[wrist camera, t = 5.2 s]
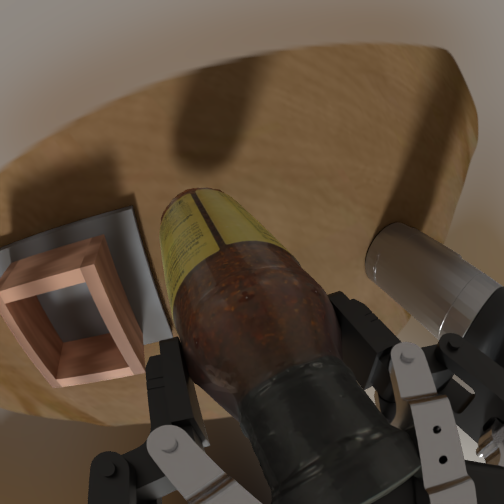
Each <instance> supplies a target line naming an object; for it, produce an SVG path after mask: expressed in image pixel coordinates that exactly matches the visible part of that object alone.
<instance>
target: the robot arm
mask: <svg viewBox="0 0 504 504" xmlns="http://www.w3.org/2000/svg"><path fill="white" fill-rule="evenodd" d="M365 269H366V274H367V276H368V277H369V278H370V279H371V280H372V281H373V282H374V283H375V284H376V285H378V286H379V287H380V288H381V289H382V290H383V291H385V292H386V293H387V294H388V295H389V296H390V297H391V298H393V299H394V300H395V301H396V302H397V303H398V304H399V305H401V306H402V307H403V308H404V309H405V310H406V311H407V312H409V313H410V314H411V315H412V316H413V317H414V318H415V319H416V320H418V321H419V322H420V323H421V324H422V325H423V326H424V327H425V328H426V329H427V330H429V331H430V332H431V333H432V334H433V335H434V336H435V337H436V338H437V339H438V340H439V342H438V344H436V345H432V346H427V347H422V348H420V347H419V346H417V345H416V344H414V343H410V342H401V341H400V340H399V339H398V338H397V337H396V336H395V335H394V334H393V333H392V332H391V331H390V330H389V329H388V328H387V327H386V326H385V325H384V324H383V322H382V321H381V320H380V319H379V320H378V317H377V316H376V315H375V314H374V313H373V314H372V311H371V310H370V309H369V308H368V307H367V306H366V305H365V304H363V303H361V302H359V301H357V300H355V299H352V300H349V299H348V297H347V296H346V295H345V294H344V293H343V292H341V291H338V292H335V293H332V294H329V295H327V296H328V297H329V300H330V302H331V304H332V306H333V308H334V310H335V313H336V315H337V318H338V321H339V324H340V327H341V334H342V355H343V362H344V363H345V364H346V366H348V367H349V368H350V369H351V370H352V371H353V373H354V375H355V377H356V380H357V382H358V383H359V384H360V386H361V387H362V388H363V390H365V389H367V388H369V387H371V386H373V387H374V388H375V390H376V391H375V394H374V397H375V404H376V407H377V408H378V410H379V411H380V412H381V413H382V414H383V415H384V417H385V418H386V420H387V421H388V422H389V423H390V424H391V425H392V426H395V427H397V428H399V429H402V430H403V431H405V432H407V433H408V434H409V436H410V438H411V440H412V441H413V443H414V446H415V448H416V451H417V453H418V456H419V458H420V461H421V467H420V469H419V470H418V471H417V472H416V473H415V474H414V475H413V476H412V477H410V478H409V479H408V480H406V481H405V482H404V483H402V484H401V485H400V486H398V487H397V488H396V489H394V490H393V491H391V492H390V493H388V494H387V495H385V496H383V497H381V498H380V499H378V500H376V501H374V502H373V503H371V504H504V287H503V286H502V285H500V284H499V283H497V282H496V281H495V280H493V279H492V278H490V277H489V276H487V275H486V274H485V273H483V272H481V271H480V270H478V269H477V268H476V267H474V266H473V265H471V264H469V263H468V262H466V261H465V260H463V259H462V257H461V256H460V255H459V254H457V253H456V252H454V251H453V250H451V249H449V248H448V247H446V246H445V245H443V244H441V243H440V242H438V241H436V240H434V239H433V238H431V237H429V236H428V235H426V234H424V233H422V232H421V231H419V230H417V229H415V228H414V227H412V228H411V227H409V226H407V225H405V224H403V223H393V224H391V225H389V226H387V227H385V228H384V229H383V230H382V231H381V232H380V233H379V234H378V235H377V236H376V238H375V239H374V241H373V242H372V244H371V246H370V248H369V250H368V253H367V257H366V261H365ZM159 345H160V354H161V355H156V356H151V357H150V358H149V360H148V363H147V365H146V368H145V370H146V380H147V382H146V383H147V390H148V392H147V394H148V404H149V413H150V421H151V432H150V435H149V437H148V439H147V440H146V442H145V443H144V444H142V445H141V446H140V447H138V448H136V449H134V450H132V451H129V452H127V453H125V454H123V455H120V454H118V453H116V452H111V451H108V452H103V453H100V454H99V455H97V456H96V457H95V458H94V460H93V461H92V463H91V468H90V478H89V492H88V504H162V496H165V495H167V494H169V493H171V492H173V491H175V490H178V491H179V492H180V493H181V494H182V495H183V497H184V498H185V499H186V500H187V501H188V503H189V504H262V503H260V502H259V501H258V500H257V499H256V498H254V497H253V496H252V495H251V494H250V493H248V492H247V491H246V490H245V489H244V488H243V487H242V486H241V485H239V484H238V483H237V482H236V481H235V480H234V479H232V478H231V477H230V476H228V475H227V474H226V473H225V472H224V471H222V470H221V469H220V468H219V467H218V466H217V465H216V464H215V463H214V462H213V461H212V460H211V459H210V458H209V457H208V456H207V455H206V454H205V451H204V447H206V446H210V444H209V441H208V437H207V434H206V430H205V426H204V422H203V419H202V415H201V411H200V407H199V403H198V399H197V395H196V391H195V387H194V383H193V381H192V379H191V378H190V376H189V374H188V370H187V366H186V363H185V359H184V355H183V351H182V347H181V343H180V340H179V338H178V337H173V338H169V339H165V340H160V341H159ZM454 374H455V375H456V376H458V377H459V378H460V379H461V380H463V381H464V382H465V383H466V384H468V385H469V386H470V387H471V388H472V389H473V390H474V392H475V394H471V393H469V392H468V391H467V390H466V389H465V388H463V387H462V386H461V385H460V384H458V383H457V382H456V381H455V380H454V379H452V377H453V375H454ZM456 425H458V426H459V427H460V428H461V429H462V430H463V431H464V432H465V433H467V434H468V435H469V436H470V437H471V438H472V439H473V440H474V441H475V442H477V443H478V448H477V449H476V455H477V456H478V457H484V459H485V462H486V463H479V462H474V461H468V460H464V456H463V452H462V447H461V443H460V438H459V434H458V430H457V426H456Z"/></svg>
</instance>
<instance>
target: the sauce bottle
mask: <svg viewBox="0 0 504 504" xmlns="http://www.w3.org/2000/svg"><path fill="white" fill-rule="evenodd" d="M159 239H160V246H161V253H162V261H163V268H164V275H165V281H166V287H167V292H168V297H169V302H170V308H171V313H172V318H173V322H174V326H175V329H176V331H177V333H178V335H179V337H180V341H181V347H182V351H183V355H184V359H185V363H186V366H187V370H188V374H189V376H190V378H191V379H192V381H193V382H194V383H195V384H197V385H198V386H200V387H201V388H202V389H203V390H204V391H205V392H206V393H207V394H209V395H210V396H211V397H212V398H213V399H214V400H215V401H216V402H217V403H218V404H219V405H220V406H221V407H223V408H224V409H225V410H226V411H227V412H228V413H229V414H231V415H232V416H233V417H234V418H235V419H236V420H237V421H238V422H240V427H241V429H242V432H243V434H244V435H245V436H246V437H247V438H249V440H250V442H251V444H252V448H253V450H254V452H255V454H256V456H257V458H258V460H259V462H260V466H261V468H262V470H263V473H264V476H265V478H266V480H267V482H268V485H269V486H270V488H271V493H272V502H271V504H371V503H373V502H374V501H376V500H378V499H380V498H381V497H383V496H385V495H387V494H388V493H390V492H391V491H393V490H394V489H396V488H397V487H398V486H400V485H401V484H402V483H404V482H405V481H406V480H408V479H409V478H410V477H412V476H413V475H414V474H415V473H416V472H417V471H418V470H419V469H420V467H421V461H420V458H419V456H418V453H417V451H416V448H415V446H414V443H413V441H412V440H411V438H410V436H409V434H408V433H407V432H405V431H403V430H402V429H399V428H397V427H395V426H392V425H391V424H390V423H389V422H388V421H387V420H386V418H385V417H384V415H383V414H382V413H381V412H380V411H379V410H378V408H377V407H376V405H375V404H374V403H373V401H372V400H371V399H370V398H369V396H368V395H367V394H366V392H365V391H364V390H363V389H362V387H361V386H360V385H359V384H358V383H357V381H356V377H355V375H354V373H353V371H352V370H351V369H350V368H349V367H348V366H346V364H345V363H344V362H343V355H342V334H341V327H340V324H339V321H338V318H337V315H336V313H335V310H334V308H333V306H332V304H331V302H330V300H329V297H328V296H327V294H326V292H325V291H324V290H323V289H322V287H321V286H320V285H319V284H318V283H317V282H316V281H315V280H314V279H313V278H312V277H311V276H310V275H309V274H308V273H307V272H306V271H304V270H303V269H302V268H301V266H300V264H299V262H298V261H297V260H296V258H295V257H294V256H293V255H292V254H291V253H290V252H289V251H288V250H287V249H286V248H285V247H284V246H283V245H282V244H281V243H280V242H279V241H278V240H277V239H276V238H275V237H274V236H273V235H272V234H271V233H269V232H268V231H267V230H266V229H265V228H264V227H263V226H262V225H261V224H260V223H259V222H258V221H257V220H256V219H255V218H254V217H253V216H252V215H251V214H249V213H248V212H247V211H246V210H245V209H244V208H243V207H242V206H241V205H240V204H239V203H238V202H237V201H235V200H234V199H233V198H232V197H230V196H229V195H227V194H225V193H224V192H222V191H221V190H218V189H211V188H195V189H194V188H193V189H188V190H185V191H184V192H182V193H180V194H178V195H177V196H176V197H175V198H174V199H173V200H172V201H171V203H170V204H169V205H168V206H167V208H166V209H165V211H164V212H163V215H162V217H161V226H160V232H159Z"/></svg>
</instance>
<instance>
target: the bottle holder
mask: <svg viewBox="0 0 504 504" xmlns="http://www.w3.org/2000/svg"><path fill="white" fill-rule="evenodd" d="M0 314H1V316H2V318H3V319H4V321H5V323H6V324H7V326H8V327H9V329H10V331H11V332H12V334H13V335H14V337H15V338H16V340H17V341H18V343H19V344H20V346H21V347H22V348H23V350H24V351H25V353H26V354H27V355H28V357H29V358H30V360H31V361H32V362H33V364H34V365H35V366H36V368H37V369H38V370H39V371H40V373H41V374H42V375H43V376H44V378H45V379H46V380H47V381H48V383H49V384H50V385H51V386H52V387H53V388H57V387H65V386H72V385H79V384H86V383H92V382H98V381H104V380H110V379H115V378H120V377H126V376H131V375H136V374H140V373H145V360H144V345H145V344H150V343H154V342H158V341H160V340H165V339H169V338H173V334H172V330H171V328H170V325H169V322H168V319H167V317H166V314H165V311H164V308H163V306H162V303H161V300H160V297H159V294H158V291H157V288H156V285H155V282H154V279H153V276H152V273H151V269H150V266H149V263H148V260H147V256H146V253H145V250H144V246H143V243H142V239H141V236H140V232H139V228H138V225H137V221H136V217H135V213H134V209H133V205H132V206H129V207H125V208H121V209H117V210H114V211H110V212H107V213H103V214H100V215H96V216H93V217H89V218H86V219H83V220H79V221H76V222H73V223H70V224H67V225H63V226H60V227H57V228H54V229H51V230H48V231H45V232H42V233H39V234H36V235H34V236H31V237H28V238H25V239H22V240H20V241H17V242H14V243H11V244H9V245H6V246H4V247H1V248H0Z"/></svg>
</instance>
